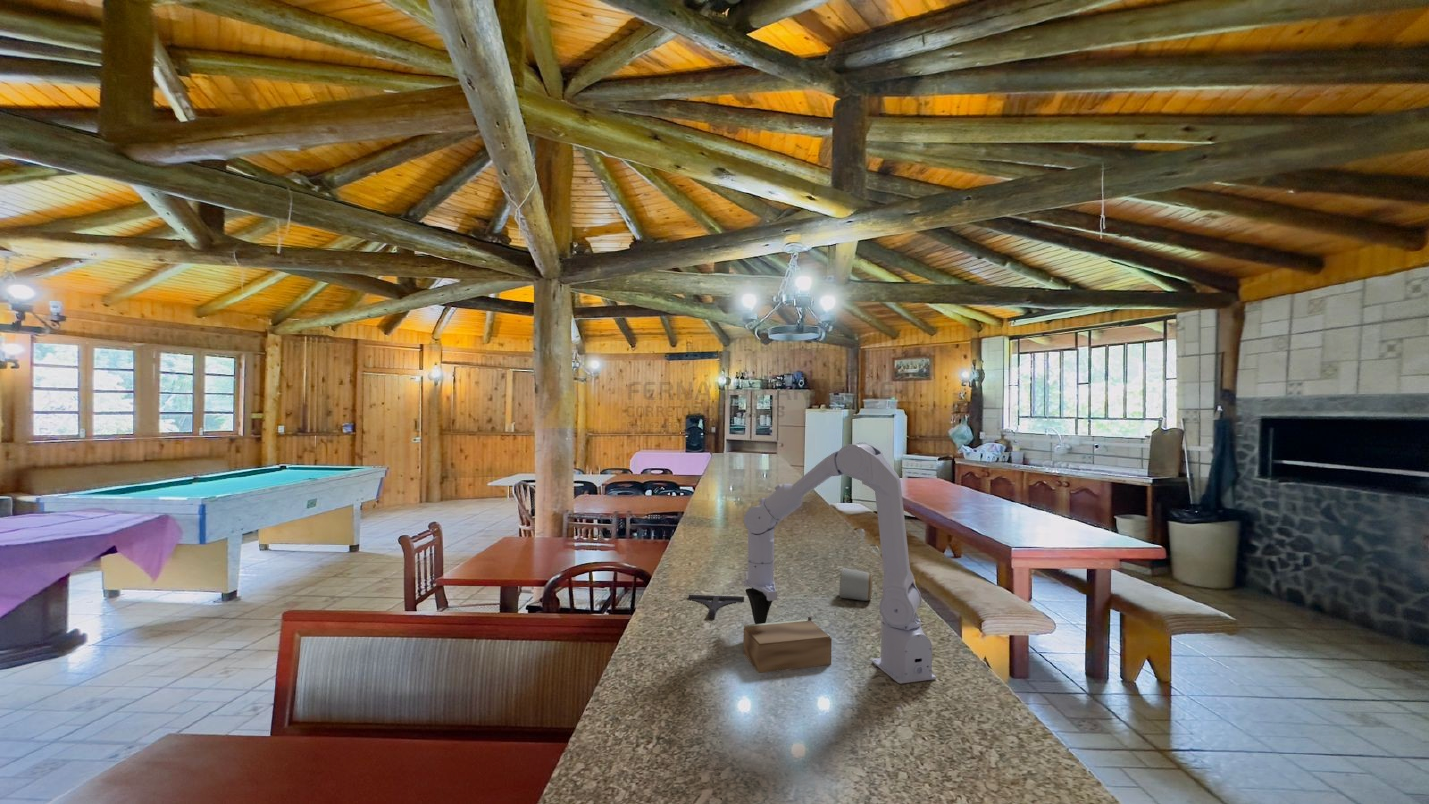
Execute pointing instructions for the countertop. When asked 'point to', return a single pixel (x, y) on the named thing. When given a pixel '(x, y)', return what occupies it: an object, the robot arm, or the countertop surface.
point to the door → (774, 623)
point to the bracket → (715, 602)
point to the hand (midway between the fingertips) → (759, 623)
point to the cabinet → (786, 646)
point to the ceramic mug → (855, 584)
